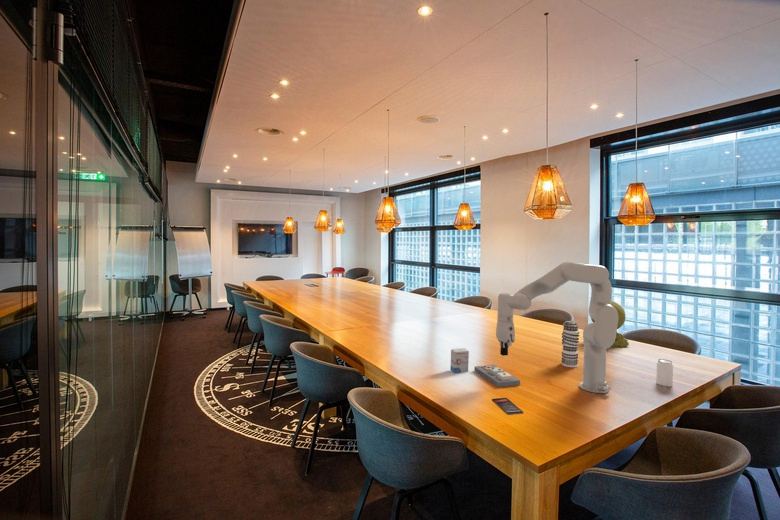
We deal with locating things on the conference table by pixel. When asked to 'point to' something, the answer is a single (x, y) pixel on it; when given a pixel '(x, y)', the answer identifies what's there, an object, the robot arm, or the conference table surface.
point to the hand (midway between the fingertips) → (504, 354)
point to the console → (494, 379)
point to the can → (664, 373)
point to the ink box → (459, 360)
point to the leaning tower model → (570, 344)
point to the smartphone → (507, 406)
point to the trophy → (619, 339)
